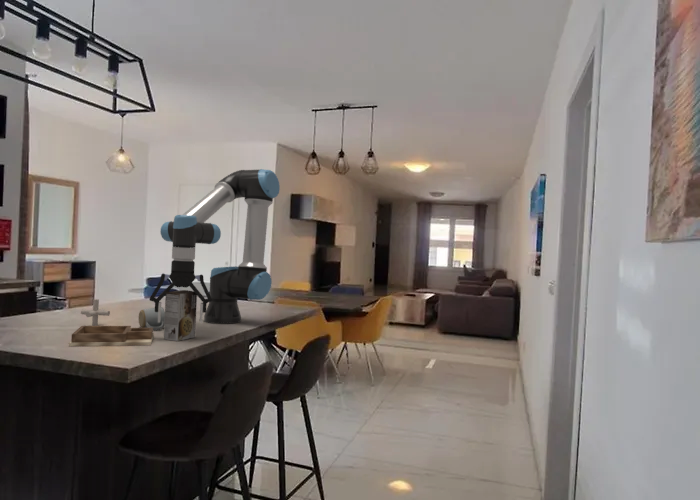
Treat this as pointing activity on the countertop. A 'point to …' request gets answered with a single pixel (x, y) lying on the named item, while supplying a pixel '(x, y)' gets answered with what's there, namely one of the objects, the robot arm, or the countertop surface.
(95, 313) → the pipe connector
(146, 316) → the ceramic mug
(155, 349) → the countertop surface
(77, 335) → the board
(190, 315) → the coffee box
